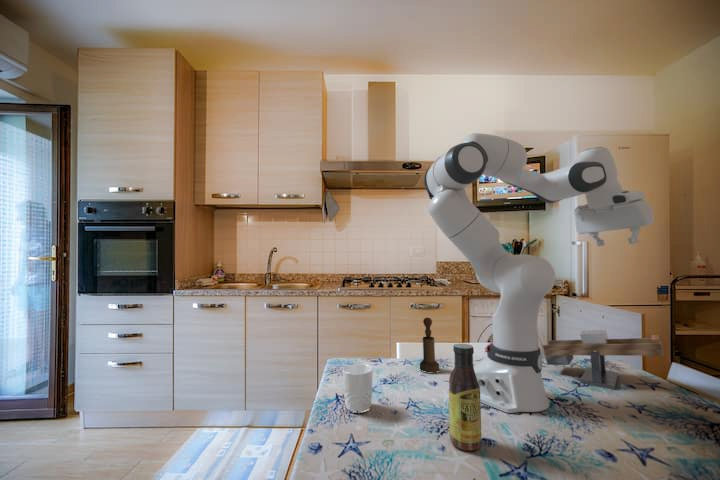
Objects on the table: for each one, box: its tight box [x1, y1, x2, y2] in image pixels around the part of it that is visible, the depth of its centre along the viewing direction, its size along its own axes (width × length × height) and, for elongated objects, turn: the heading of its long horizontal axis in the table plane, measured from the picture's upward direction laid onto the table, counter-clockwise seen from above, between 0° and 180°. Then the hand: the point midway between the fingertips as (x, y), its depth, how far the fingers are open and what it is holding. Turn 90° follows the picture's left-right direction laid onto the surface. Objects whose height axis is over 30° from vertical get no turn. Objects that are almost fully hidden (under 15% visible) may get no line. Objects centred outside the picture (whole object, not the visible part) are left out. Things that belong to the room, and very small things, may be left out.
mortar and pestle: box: [419, 317, 440, 372], centre depth 108 cm, size 7×6×18 cm
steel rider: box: [579, 329, 610, 344], centre depth 97 cm, size 6×6×4 cm
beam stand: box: [579, 351, 619, 390], centre depth 96 cm, size 8×14×10 cm, turn 137°
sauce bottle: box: [448, 343, 482, 452], centre depth 65 cm, size 7×6×20 cm
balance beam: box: [542, 334, 665, 366], centre depth 96 cm, size 29×10×7 cm, turn 47°
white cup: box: [342, 363, 373, 411], centre depth 81 cm, size 8×8×10 cm
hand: (616, 244), depth 93 cm, fingers open, 8 cm apart
